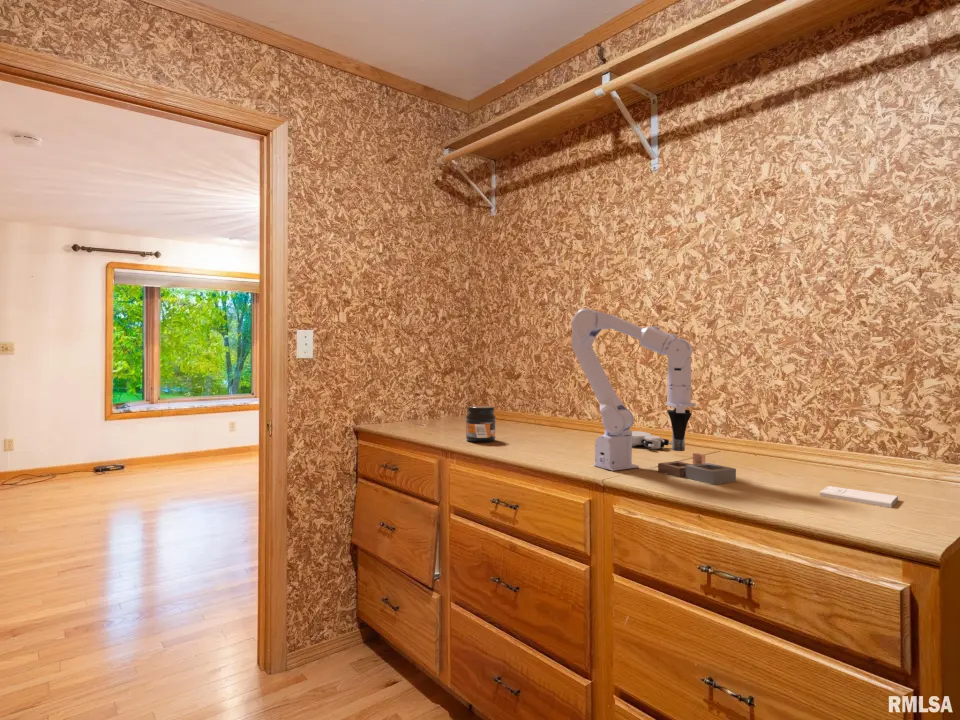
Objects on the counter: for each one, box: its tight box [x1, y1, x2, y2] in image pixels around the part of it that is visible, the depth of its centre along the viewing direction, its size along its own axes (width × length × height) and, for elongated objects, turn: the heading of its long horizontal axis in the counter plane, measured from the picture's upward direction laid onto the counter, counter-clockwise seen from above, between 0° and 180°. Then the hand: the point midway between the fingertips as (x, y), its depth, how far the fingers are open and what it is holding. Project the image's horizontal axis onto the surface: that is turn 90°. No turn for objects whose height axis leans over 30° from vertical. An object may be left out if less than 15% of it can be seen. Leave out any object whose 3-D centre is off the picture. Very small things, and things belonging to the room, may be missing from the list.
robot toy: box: [631, 430, 672, 450], centre depth 176 cm, size 12×4×15 cm
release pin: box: [692, 452, 706, 465], centre depth 139 cm, size 6×3×4 cm, turn 118°
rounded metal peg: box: [671, 431, 686, 452], centre depth 136 cm, size 3×3×8 cm
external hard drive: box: [819, 485, 899, 509], centre depth 113 cm, size 2×8×12 cm
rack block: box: [685, 462, 737, 486], centre depth 130 cm, size 8×8×3 cm
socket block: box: [657, 460, 693, 478], centre depth 137 cm, size 7×7×2 cm
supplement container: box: [465, 405, 497, 444], centre depth 187 cm, size 10×10×12 cm
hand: (678, 438), depth 136 cm, fingers closed on rounded metal peg, 3 cm apart
